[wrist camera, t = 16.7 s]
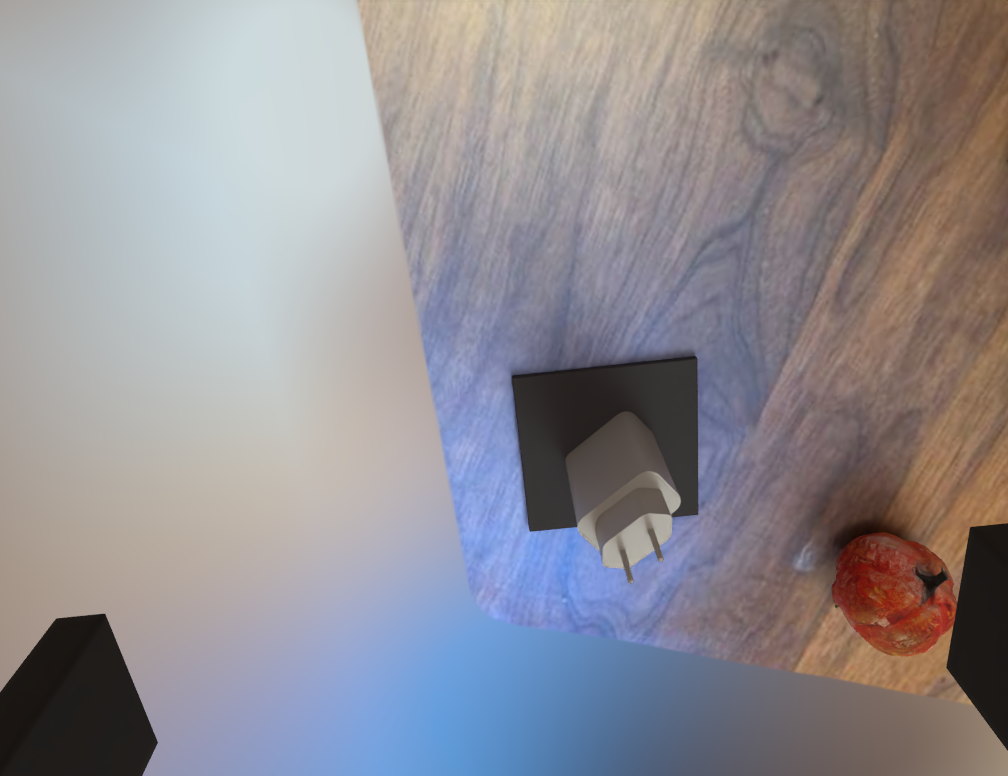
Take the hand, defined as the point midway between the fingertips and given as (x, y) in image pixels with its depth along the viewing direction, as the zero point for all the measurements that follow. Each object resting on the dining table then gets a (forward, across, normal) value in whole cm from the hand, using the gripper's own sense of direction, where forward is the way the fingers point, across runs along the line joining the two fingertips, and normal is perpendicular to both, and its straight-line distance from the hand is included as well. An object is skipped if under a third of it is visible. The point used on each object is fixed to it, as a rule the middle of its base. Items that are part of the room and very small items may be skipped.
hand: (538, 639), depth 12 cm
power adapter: (+32, +5, -15) cm, 36 cm away
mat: (+33, +5, -15) cm, 36 cm away
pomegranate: (+33, +22, -26) cm, 47 cm away
